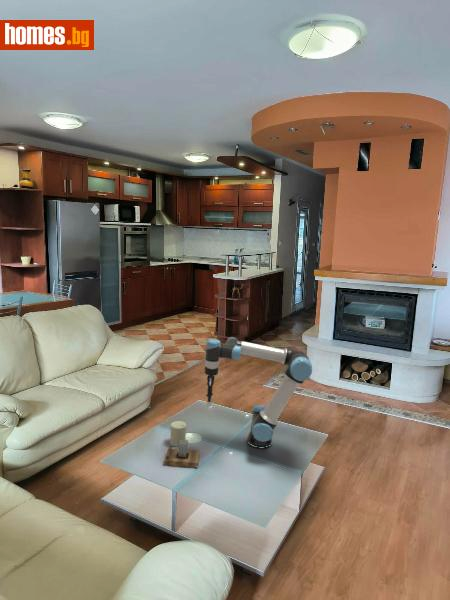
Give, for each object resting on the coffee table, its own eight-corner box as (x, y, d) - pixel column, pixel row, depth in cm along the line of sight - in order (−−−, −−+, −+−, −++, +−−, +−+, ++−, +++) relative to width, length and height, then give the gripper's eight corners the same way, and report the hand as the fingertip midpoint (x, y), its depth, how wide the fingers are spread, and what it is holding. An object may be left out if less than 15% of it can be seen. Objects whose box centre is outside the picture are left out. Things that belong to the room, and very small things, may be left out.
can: (182, 447, 237) (183, 428, 235) (167, 445, 239) (168, 426, 237) (187, 440, 246) (188, 421, 244) (172, 437, 248) (173, 419, 246)
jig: (199, 455, 230) (200, 447, 230) (197, 468, 219) (198, 459, 218) (167, 453, 231) (168, 445, 230) (164, 465, 219) (164, 456, 218)
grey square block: (186, 458, 227) (187, 440, 225) (185, 463, 222) (187, 444, 220) (178, 457, 227) (179, 439, 225) (177, 462, 222) (178, 443, 220)
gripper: (205, 362, 236) (203, 400, 240) (204, 370, 223) (201, 410, 227) (218, 363, 236) (215, 401, 240) (217, 371, 223) (214, 411, 227)
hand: (208, 406), depth 234 cm, fingers closed
